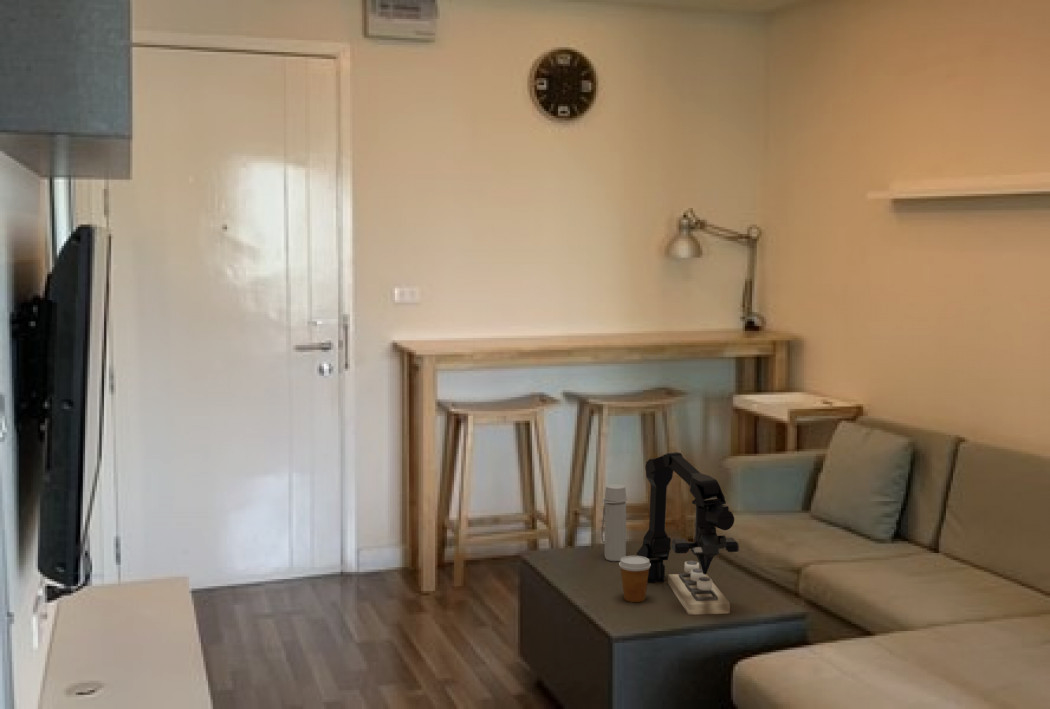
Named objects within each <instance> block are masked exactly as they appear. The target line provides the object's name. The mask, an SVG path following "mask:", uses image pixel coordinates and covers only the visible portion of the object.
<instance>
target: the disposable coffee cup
mask: <svg viewBox="0 0 1050 709" xmlns="http://www.w3.org/2000/svg"><path fill="white" fill-rule="evenodd" d="M618 565H619V567H620V575H621V583H622V592H623V600H625V601H627V602H631V603H641V602H643V601H645V600H646V595H647V588H648V587H647V586H648V582H647V581H648V573H649V568H650V566H651V563H650V562H649V559H648V558H646V557H642V556H637V555H626V556H625V557H622V558H621V560H620V561H618Z"/></svg>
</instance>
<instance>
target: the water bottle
mask: <svg viewBox="0 0 1050 709" xmlns="http://www.w3.org/2000/svg"><path fill="white" fill-rule="evenodd" d="M604 492H605V493H604V498H603V499H602V503H603V514H602V522H601V523H602V524H601V534H600V540H601V543H602V544H604V558H605V559H606V560H607V561H609V562H620V560H621V558H622V557H625V556H627V554H626V552H627V550H626V549H627V503H626V502H627V492H626V485H625V484H621V483H620V484H616V483H614V484H613V483H611V484H607V485H605V490H604ZM603 534H604V536H603Z"/></svg>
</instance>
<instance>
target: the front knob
mask: <svg viewBox="0 0 1050 709" xmlns="http://www.w3.org/2000/svg"><path fill="white" fill-rule="evenodd" d="M708 577H709V576H708ZM708 577H700V578H697V588H698V589H700V590H711V589H712V582H713V579H712V578H711V577H709V578H708Z"/></svg>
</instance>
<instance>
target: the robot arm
mask: <svg viewBox="0 0 1050 709" xmlns="http://www.w3.org/2000/svg"><path fill="white" fill-rule="evenodd" d="M683 456H684V455H683V454H682V453H681V452H678V451H675V452H667V453H665V454H663V455H661V456H658V457H655V458H649V459H648V460H647V461H646V462H645V465H644V466H645V467H644V468H645V477H646V480H647V481H648V483H649V484H650V497H649V498H650V499H649V522H648V525H649V526H648V530H647V532H646V533H645V534H644V536H643V540H642V544H641V545H642V546H641V547H640V548H639V550H638V551H637V552H636V556H642V557H646V558H648V559H649V562H650V563H651V566H650V568H649V573H648V581H647V583H651V582H653V583H655V582H658V583H660V582H665V578H666V565H665V564H664V561H668V560H669V556H670V552H671V550H672V551H673V552H674V553H675V554H687V553H688V552H689V550H690V551H691V552H692V554H693V555H694V556H696V559H697V562H698V563H699V568H700V569H701V570H702V573H703V574H707V575H708V570H709V568H710V565H711V563H712V562H713V559H714V558H715V557H716V556H718V555H720V549H722V550H724V549H725V550H726V551H727V552H728V553H737V552H738V553H739V551H740V545H739V543H738V542H737V540H736V539H735V538H734V537H726V535H718V533H717V529H720V530H722V531H728V530H730V529H731V528H732V527H733V526H734V524H735V516H734V514H733V512H732V511H730V509H729V506H728V505H726V503H727V502H726V497H725V495H724V493H723V491H722V489H721V488H722V487H721V485H720V483H719V481H718V480H717V479H716V478H714V477H712V476H710V475H708V474H704V473H702V472H700V471H699V470H698V469H696V468H695V466H693V465H692V464H691V463H690V462H689V461H688V460H686V458H684V457H683ZM674 472H675V474H677V476H679V477H680V478H681V479H682V480H683V481H684V482H685V483H686V484H687V485H688V487H689V492H690V494H691V495H692V496H693V497H694V499H693V500H692V501H691V504H692V505H695V520H694V521H695V523H694V527H695V528H694V529H695V530H694V541H691V542H689V541H687V539H686V538H673V539H672V538H671V537H669V536H668V534H667V532H666V512H667V492H668V491H667V489H668V486H669V484H670V482H671V481H672V479H673V476H674Z"/></svg>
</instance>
